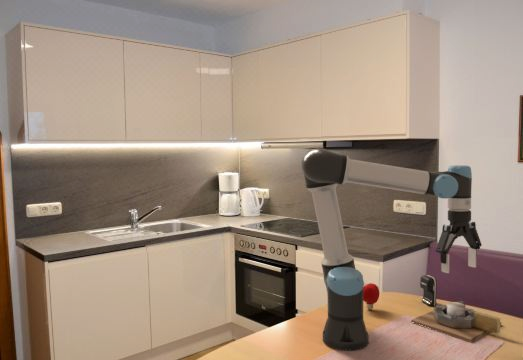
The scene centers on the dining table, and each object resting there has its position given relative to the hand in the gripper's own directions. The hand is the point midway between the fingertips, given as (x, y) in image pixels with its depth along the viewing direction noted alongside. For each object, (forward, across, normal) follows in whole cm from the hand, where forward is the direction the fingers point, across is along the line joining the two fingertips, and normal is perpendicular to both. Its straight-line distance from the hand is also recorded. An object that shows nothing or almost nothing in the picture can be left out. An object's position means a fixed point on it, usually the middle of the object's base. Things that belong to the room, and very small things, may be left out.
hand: (458, 269), depth 159 cm
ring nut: (+19, +2, -2) cm, 19 cm away
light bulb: (+21, -16, +28) cm, 39 cm away
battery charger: (+21, +8, +22) cm, 31 cm away
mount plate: (+21, +1, +2) cm, 21 cm away
